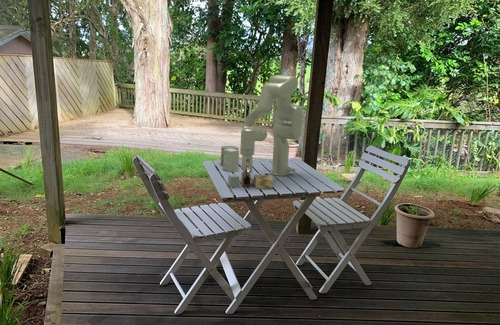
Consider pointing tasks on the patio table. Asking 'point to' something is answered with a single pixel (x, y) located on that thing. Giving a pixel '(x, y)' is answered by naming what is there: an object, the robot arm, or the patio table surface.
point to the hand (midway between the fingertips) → (245, 182)
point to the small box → (231, 160)
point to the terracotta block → (243, 179)
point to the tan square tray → (263, 182)
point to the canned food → (223, 151)
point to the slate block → (233, 180)
